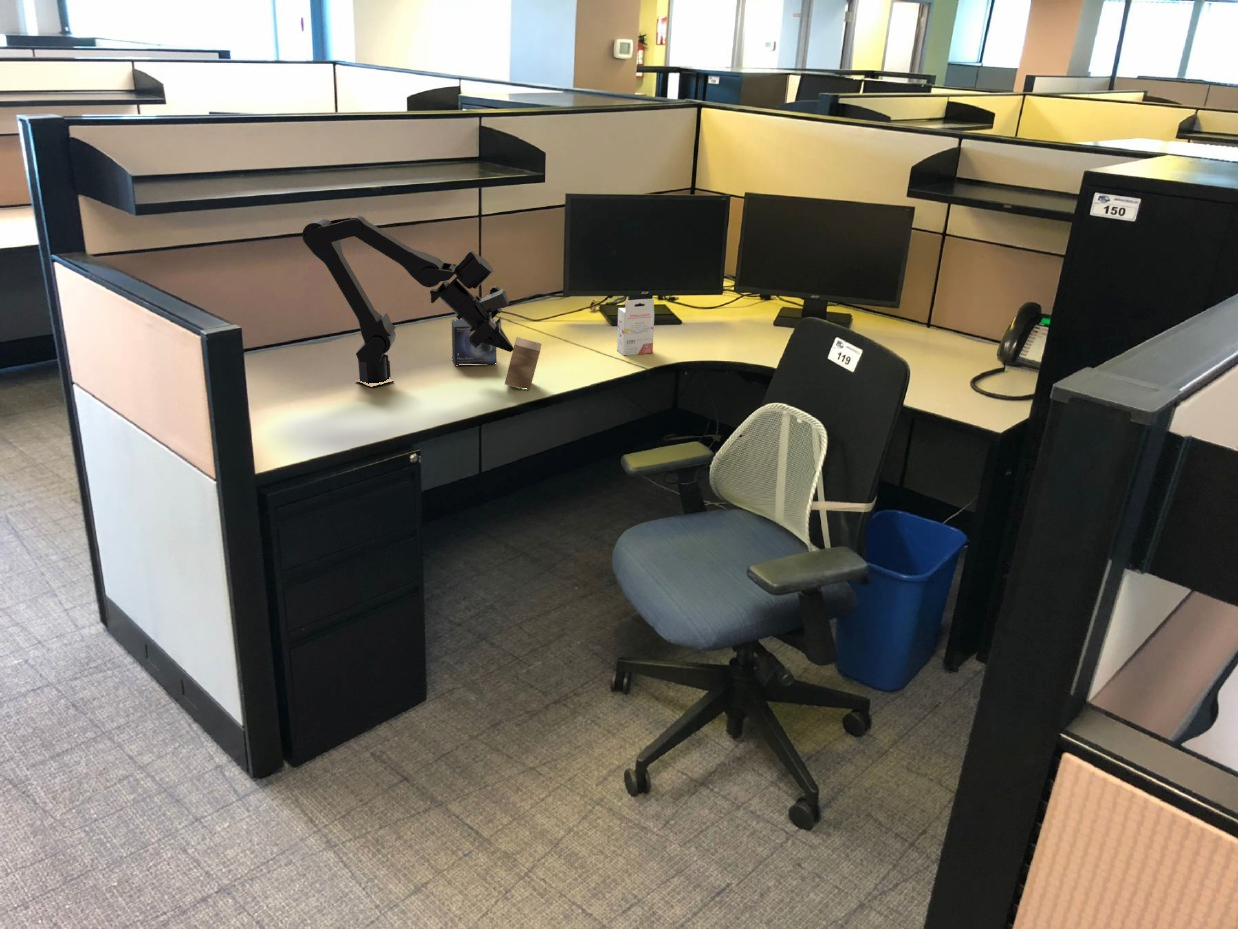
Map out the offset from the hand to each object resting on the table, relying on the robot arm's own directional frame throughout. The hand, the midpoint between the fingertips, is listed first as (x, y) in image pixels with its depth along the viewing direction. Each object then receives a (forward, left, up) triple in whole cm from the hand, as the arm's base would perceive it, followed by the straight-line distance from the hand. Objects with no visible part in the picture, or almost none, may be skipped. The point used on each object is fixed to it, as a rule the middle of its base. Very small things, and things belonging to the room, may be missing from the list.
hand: (512, 350), depth 223 cm
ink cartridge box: (+42, -3, -9) cm, 43 cm away
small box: (+6, +20, -9) cm, 22 cm away
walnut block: (+1, -1, -8) cm, 8 cm away
